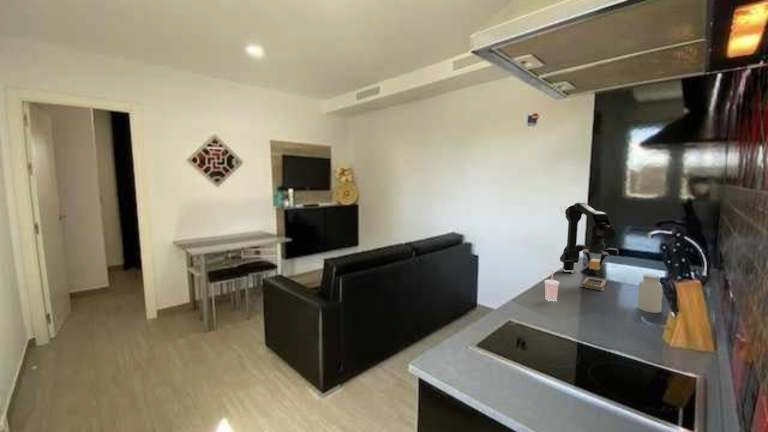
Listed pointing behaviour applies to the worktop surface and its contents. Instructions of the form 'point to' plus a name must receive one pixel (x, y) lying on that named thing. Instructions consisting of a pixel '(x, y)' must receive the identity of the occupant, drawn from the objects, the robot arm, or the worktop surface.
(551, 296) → the beverage cup
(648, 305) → the pill bottle
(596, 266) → the ochre bar
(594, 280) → the board
